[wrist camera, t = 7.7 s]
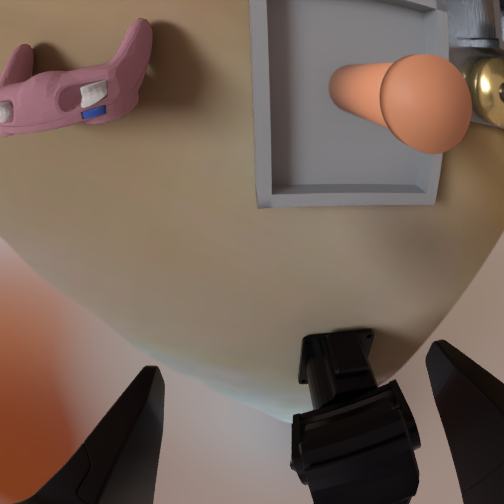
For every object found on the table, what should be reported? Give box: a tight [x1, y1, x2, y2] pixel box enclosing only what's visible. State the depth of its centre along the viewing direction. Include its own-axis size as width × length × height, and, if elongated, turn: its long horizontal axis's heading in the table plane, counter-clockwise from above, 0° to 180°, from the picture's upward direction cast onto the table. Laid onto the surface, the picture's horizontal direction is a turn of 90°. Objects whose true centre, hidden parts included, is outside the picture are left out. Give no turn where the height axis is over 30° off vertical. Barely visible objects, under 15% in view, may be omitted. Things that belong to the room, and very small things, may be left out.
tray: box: [249, 0, 449, 208], centre depth 16 cm, size 14×12×2 cm
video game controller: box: [0, 18, 153, 137], centre depth 13 cm, size 10×5×7 cm, turn 87°
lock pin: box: [329, 54, 472, 154], centre depth 13 cm, size 4×4×9 cm
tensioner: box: [444, 0, 504, 129], centre depth 13 cm, size 11×9×4 cm
